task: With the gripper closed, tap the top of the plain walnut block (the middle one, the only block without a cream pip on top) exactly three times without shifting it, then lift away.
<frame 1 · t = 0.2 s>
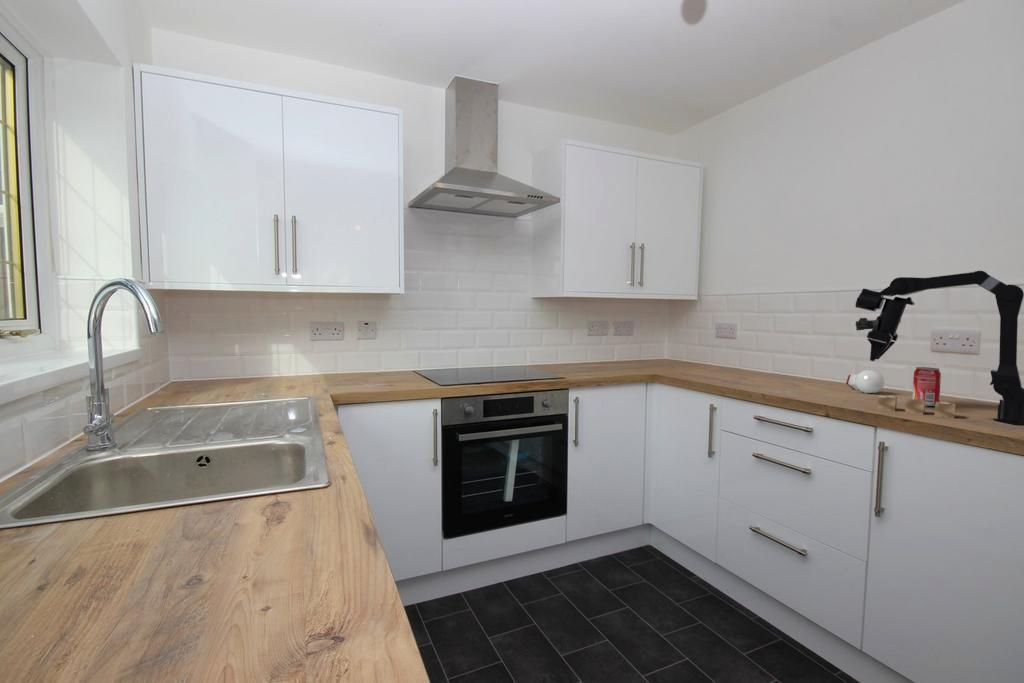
hand: (874, 359, 168), 15 cm above the worktop, tool pointing down, fingers open, 9 cm apart
soda can: (925, 406, 170), on the worktop
pip block near: (944, 416, 152), on the worktop
plain block: (914, 413, 157), on the worktop
pip block far: (886, 409, 161), on the worktop
potion bottle: (863, 392, 199), on the worktop
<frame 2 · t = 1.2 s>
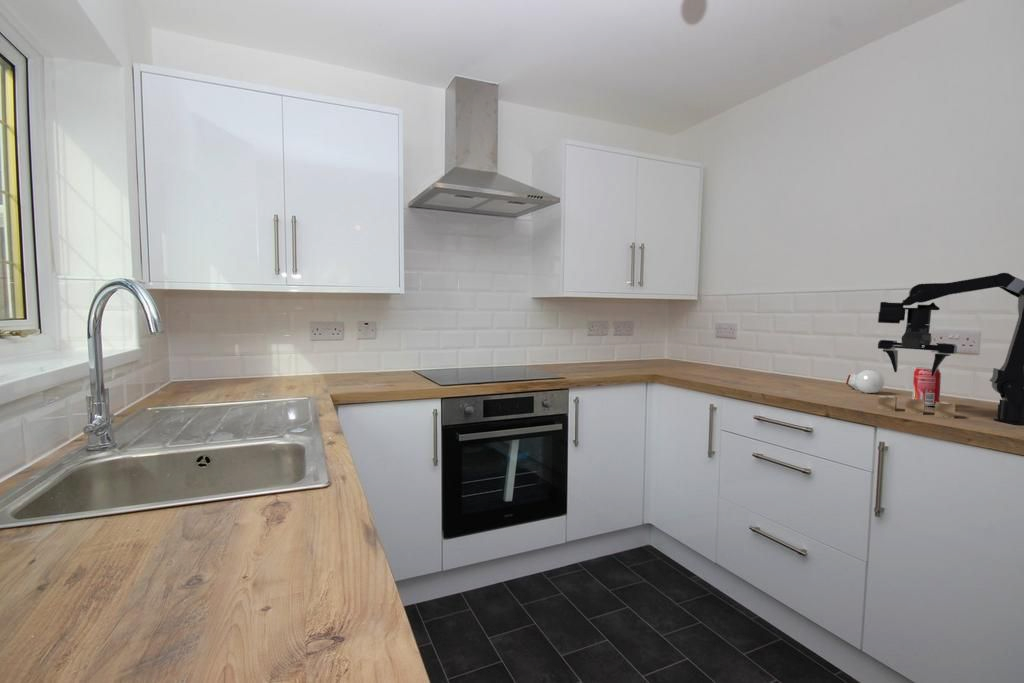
hand: (913, 373, 157), 12 cm above the worktop, tool pointing down, fingers open, 9 cm apart
nothing on the worktop moved.
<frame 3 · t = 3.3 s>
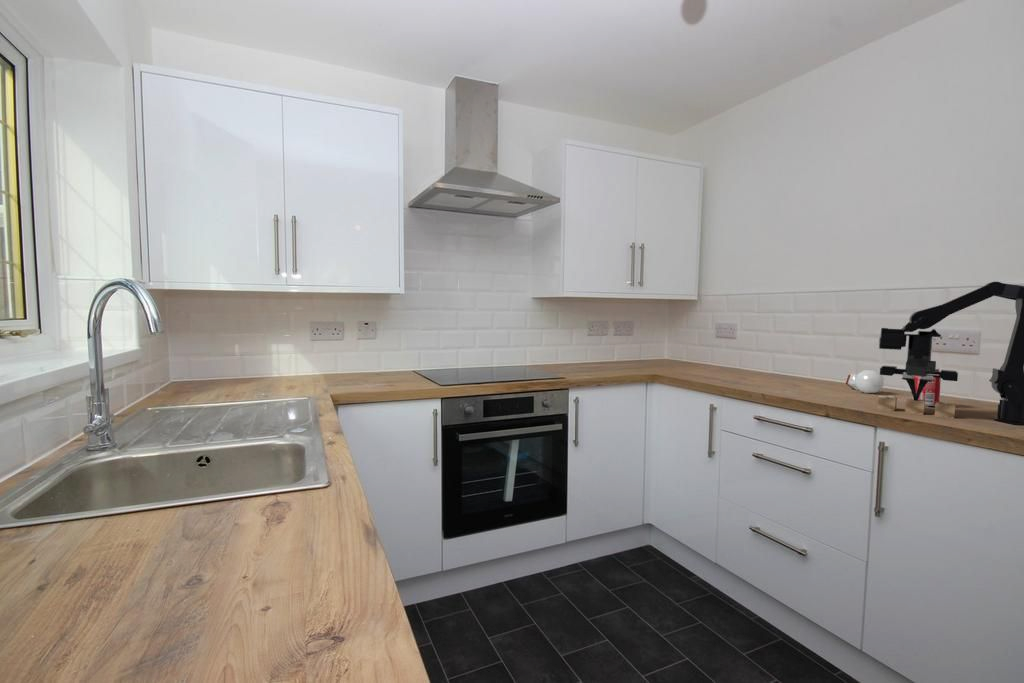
hand: (915, 400, 156), 4 cm above the worktop, tool pointing down, fingers closed, pressing on plain block
plain block: (914, 412, 157), on the worktop, touching gripper
everything else where it was.
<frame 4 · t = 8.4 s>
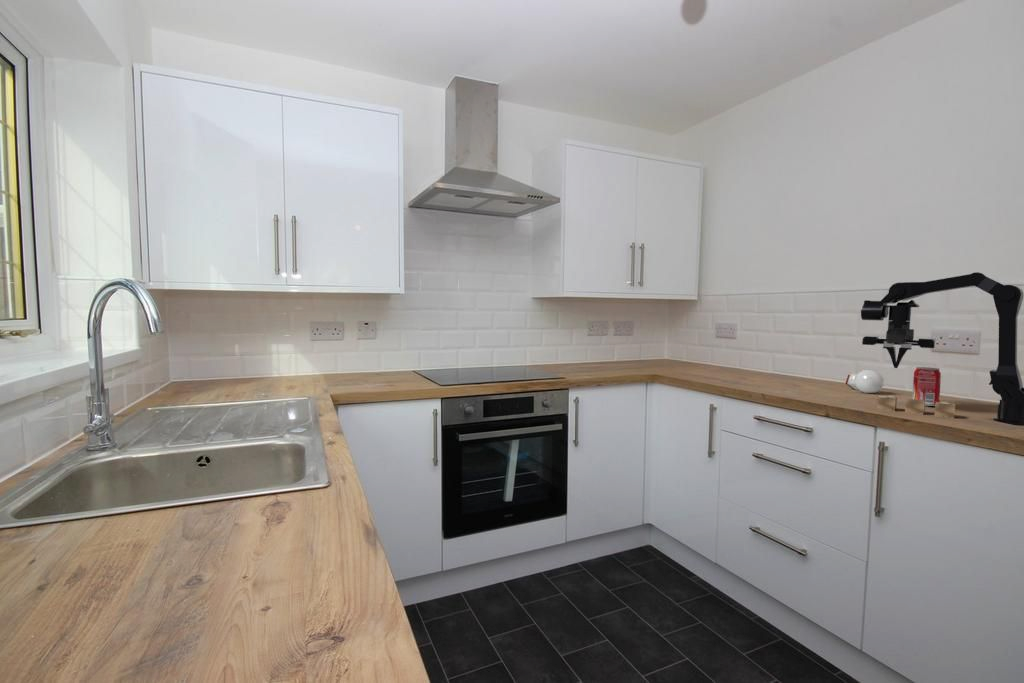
hand: (895, 368, 165), 13 cm above the worktop, tool pointing down, fingers closed
plain block: (914, 412, 157), on the worktop
everything else where it was.
at the end: plain block moved 0.2 cm from its start; plain block tilted 0°; plain block touching worktop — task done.
